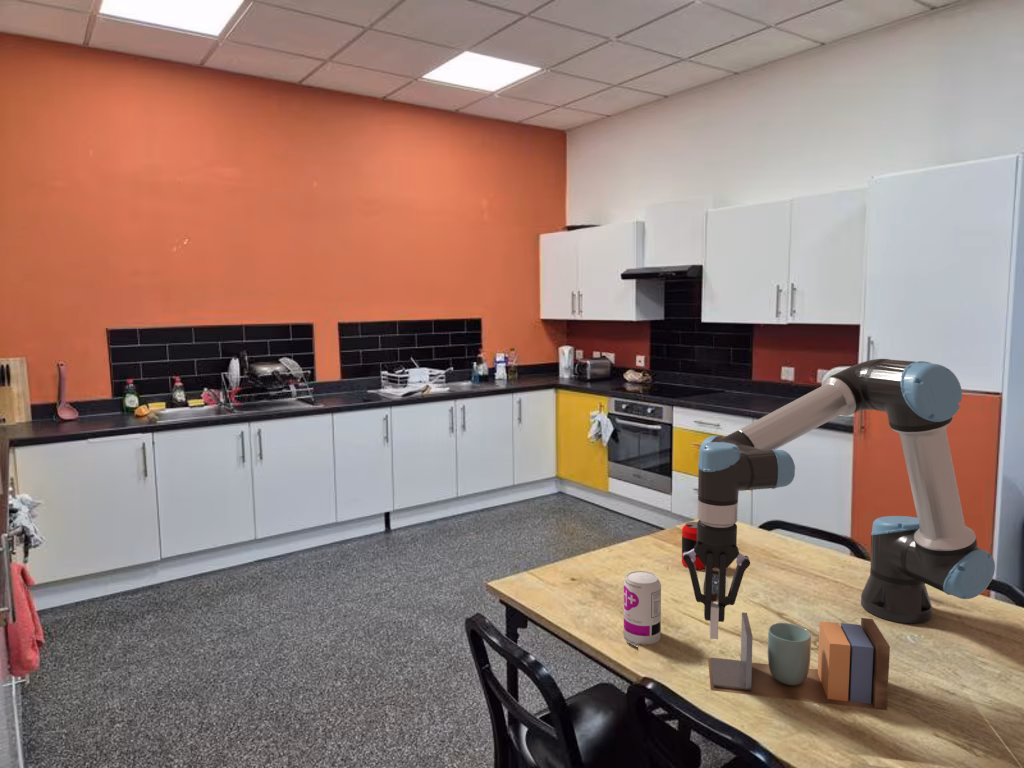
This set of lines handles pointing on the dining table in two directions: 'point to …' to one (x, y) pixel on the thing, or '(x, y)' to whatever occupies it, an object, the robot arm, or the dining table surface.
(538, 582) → the dining table surface
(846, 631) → the book navy
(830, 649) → the book terracotta
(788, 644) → the cup
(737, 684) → the bookend
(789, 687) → the shelf
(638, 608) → the supplement can
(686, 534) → the soda can
